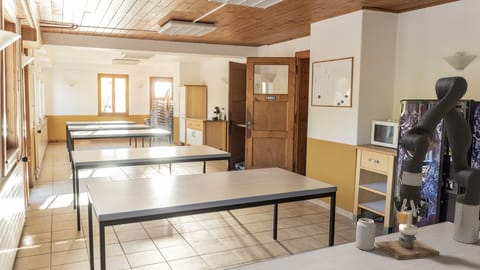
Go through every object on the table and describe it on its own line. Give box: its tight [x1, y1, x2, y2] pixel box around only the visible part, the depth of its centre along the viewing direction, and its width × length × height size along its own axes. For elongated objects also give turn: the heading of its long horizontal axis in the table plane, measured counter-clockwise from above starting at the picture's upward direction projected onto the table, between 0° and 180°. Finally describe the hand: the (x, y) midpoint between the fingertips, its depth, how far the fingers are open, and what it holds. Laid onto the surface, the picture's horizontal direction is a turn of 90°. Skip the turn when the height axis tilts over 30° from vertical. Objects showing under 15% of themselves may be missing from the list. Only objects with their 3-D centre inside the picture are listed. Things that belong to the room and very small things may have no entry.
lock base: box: [375, 233, 440, 260], centre depth 157 cm, size 20×14×8 cm
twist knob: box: [397, 209, 421, 236], centre depth 157 cm, size 10×7×8 cm
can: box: [355, 217, 377, 251], centre depth 159 cm, size 8×8×12 cm
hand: (408, 223), depth 157 cm, fingers closed on twist knob, 3 cm apart
